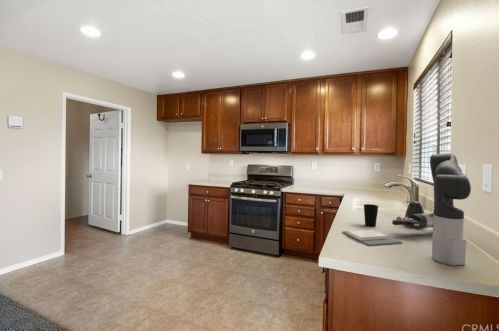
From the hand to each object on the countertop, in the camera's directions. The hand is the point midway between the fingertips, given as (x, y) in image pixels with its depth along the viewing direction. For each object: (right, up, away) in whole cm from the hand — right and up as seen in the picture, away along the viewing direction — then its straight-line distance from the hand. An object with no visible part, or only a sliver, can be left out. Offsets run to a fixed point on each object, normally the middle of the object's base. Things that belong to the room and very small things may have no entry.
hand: (393, 222), depth 127 cm
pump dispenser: (+23, -7, +19) cm, 30 cm away
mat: (-13, -7, -3) cm, 15 cm away
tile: (-8, -5, -2) cm, 10 cm away
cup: (-2, -7, +20) cm, 21 cm away
